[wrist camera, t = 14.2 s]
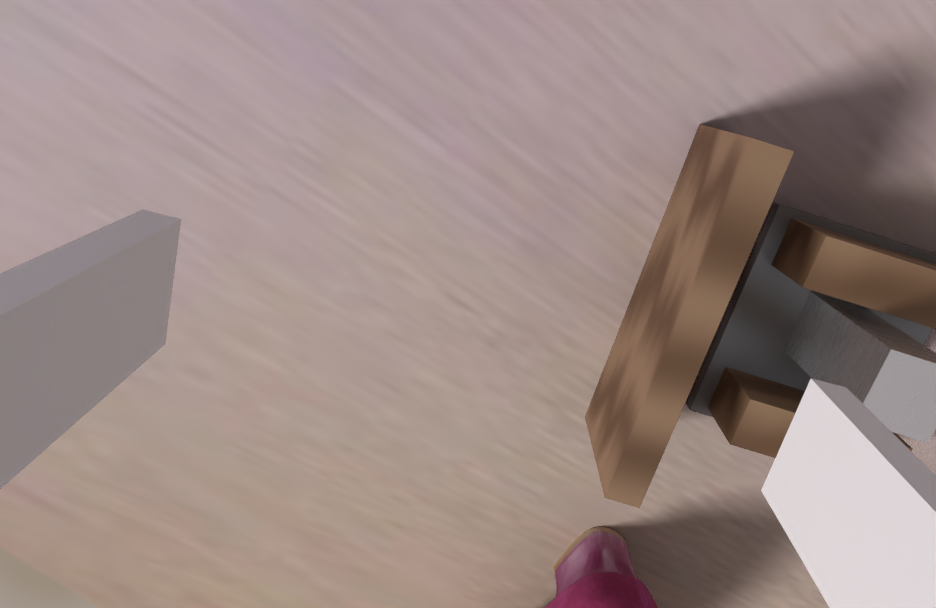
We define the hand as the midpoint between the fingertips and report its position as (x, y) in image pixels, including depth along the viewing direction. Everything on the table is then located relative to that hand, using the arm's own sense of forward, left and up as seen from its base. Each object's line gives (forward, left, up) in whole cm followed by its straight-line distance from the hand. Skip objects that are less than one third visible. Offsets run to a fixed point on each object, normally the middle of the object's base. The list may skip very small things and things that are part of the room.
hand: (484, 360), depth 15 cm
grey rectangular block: (+3, +23, -31) cm, 38 cm away
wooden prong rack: (+4, +23, -32) cm, 39 cm away
